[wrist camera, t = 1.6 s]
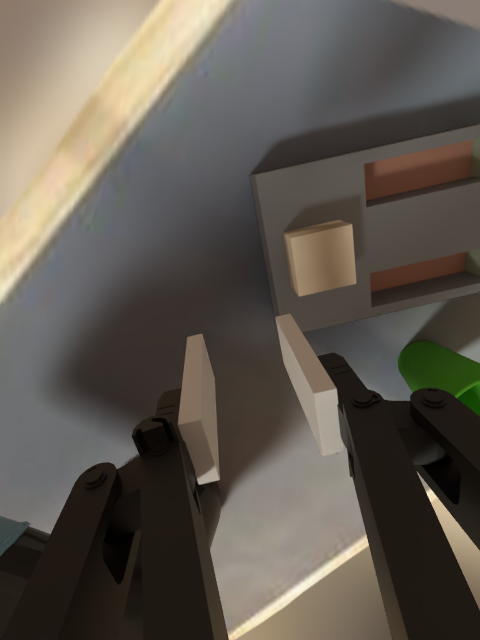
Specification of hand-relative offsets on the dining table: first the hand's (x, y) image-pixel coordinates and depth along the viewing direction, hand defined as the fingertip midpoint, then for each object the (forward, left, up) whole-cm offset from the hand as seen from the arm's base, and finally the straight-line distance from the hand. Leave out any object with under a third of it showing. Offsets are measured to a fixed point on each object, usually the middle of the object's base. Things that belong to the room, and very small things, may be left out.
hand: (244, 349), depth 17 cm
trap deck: (+18, 0, -19) cm, 26 cm away
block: (+8, 0, -15) cm, 17 cm away
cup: (+20, -17, -19) cm, 32 cm away
